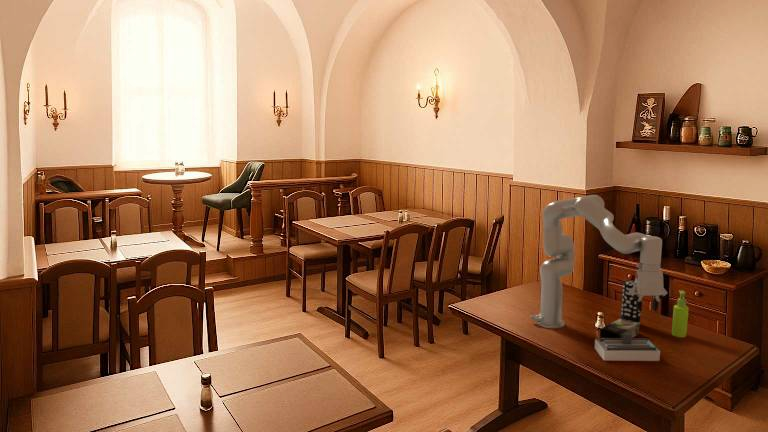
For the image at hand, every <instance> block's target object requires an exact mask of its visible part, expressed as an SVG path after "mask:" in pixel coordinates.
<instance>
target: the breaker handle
mask: <svg viewBox="0 0 768 432" xmlns="http://www.w3.org/2000/svg"><path fill="white" fill-rule="evenodd" d="M631 338H632V335H631V334H630V333H624V334H623V344H631Z"/></svg>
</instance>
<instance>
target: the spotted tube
mask: <svg viewBox="0 0 768 432" xmlns="http://www.w3.org/2000/svg"><path fill="white" fill-rule="evenodd" d="M622 284H623V285H622V296H621V312H620V319H624V320H629V321H632V322H637V323H639V327H640V326H641V315H642V313H641V312H642V311H639V310H638V309H637V308H636V301H637V300H636V299H635V298H634V297H633V296H632V295H631V294H630V293H629V291H630V290H631V289H632V288H633V287H634V285H635V280H625V281H623V283H622ZM634 294H636V295H637V292H634ZM642 300H643V298H642V299H641V302H642V303H643V301H642Z"/></svg>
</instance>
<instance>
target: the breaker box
mask: <svg viewBox="0 0 768 432" xmlns="http://www.w3.org/2000/svg"><path fill="white" fill-rule="evenodd" d="M594 349H595V350H596V352H597V354H598V355H599V356H600V357H601V358H602V360H603V361H614V362H615V361H623V362H624V361H625V362H626V361H629V362H634V361H635V362H637V361H638V362H639V361H640V362H644V361H645V362H659V361H660V359H661V357H660V356H661V351H660V350H659V348H657V347H656V346H655V345H654V344H653V343H652V342H651V341H650V340H649V339H648V338H643V337H642V338H634V337H633V338H631V344H623V338H618V337H615V338H614V337H611V338H610V337H604V338H600V337H599V339H594Z"/></svg>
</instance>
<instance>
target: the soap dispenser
mask: <svg viewBox="0 0 768 432" xmlns="http://www.w3.org/2000/svg"><path fill="white" fill-rule="evenodd" d="M678 292H679V298H677V303H676V304H675V305H673V313H672V322H671V323H672V324H671V335H672V336H673V337H677V338H686V337H687V331H688V321H689V320H688V319H689V312H690V311H689V309H690V308H689V306H687V305H686V304H687V299H686V298H685V295H686V291H685V290H680V289H679V290H678Z"/></svg>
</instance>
